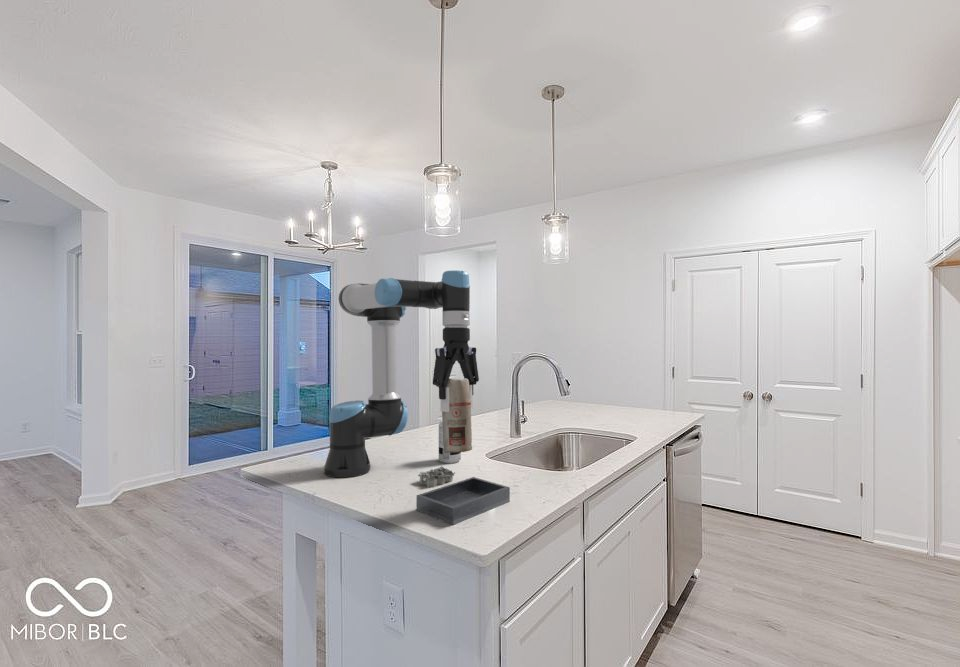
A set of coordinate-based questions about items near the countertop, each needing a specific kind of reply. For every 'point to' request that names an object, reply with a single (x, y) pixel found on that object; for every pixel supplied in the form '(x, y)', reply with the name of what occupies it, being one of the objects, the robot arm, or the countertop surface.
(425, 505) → the grey soap tray
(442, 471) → the potted succulents
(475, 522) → the countertop surface
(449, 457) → the supplement can
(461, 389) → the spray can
